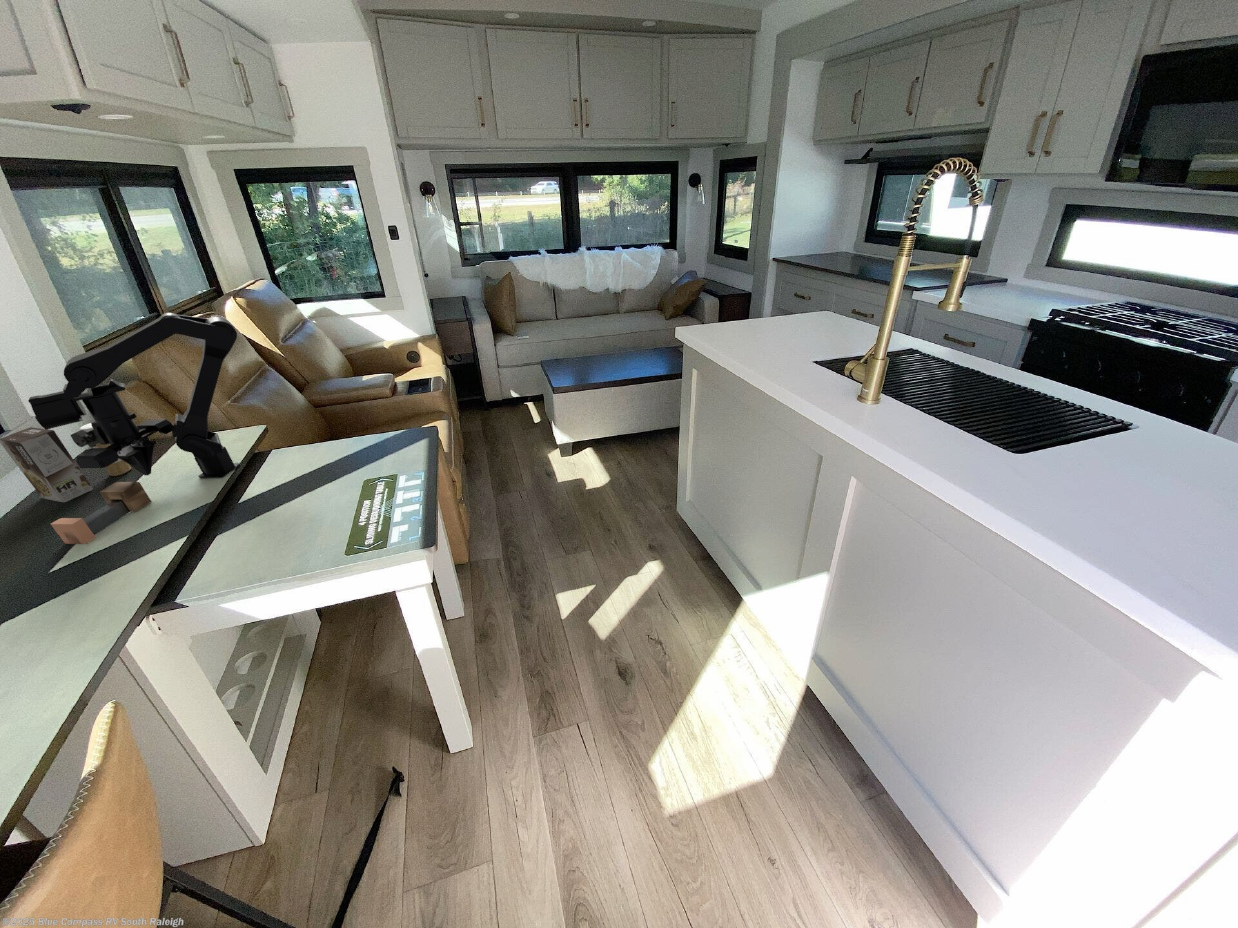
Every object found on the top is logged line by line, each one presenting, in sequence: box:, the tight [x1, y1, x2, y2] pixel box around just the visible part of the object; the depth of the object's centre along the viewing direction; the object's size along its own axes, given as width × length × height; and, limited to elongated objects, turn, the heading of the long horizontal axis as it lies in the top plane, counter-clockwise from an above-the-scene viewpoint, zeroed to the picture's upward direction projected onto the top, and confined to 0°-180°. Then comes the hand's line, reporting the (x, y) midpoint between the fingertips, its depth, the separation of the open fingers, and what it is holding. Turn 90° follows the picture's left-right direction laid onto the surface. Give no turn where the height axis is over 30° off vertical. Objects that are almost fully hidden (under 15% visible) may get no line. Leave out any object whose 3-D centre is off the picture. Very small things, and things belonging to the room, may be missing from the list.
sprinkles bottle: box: [79, 422, 132, 477], centre depth 129 cm, size 5×5×13 cm
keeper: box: [99, 481, 152, 513], centre depth 116 cm, size 4×6×5 cm
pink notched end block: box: [50, 517, 97, 545], centre depth 106 cm, size 2×5×5 cm, turn 85°
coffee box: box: [0, 426, 94, 503], centre depth 120 cm, size 9×6×16 cm
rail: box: [64, 499, 130, 545], centre depth 112 cm, size 16×2×3 cm, turn 175°
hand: (147, 474), depth 120 cm, fingers closed
